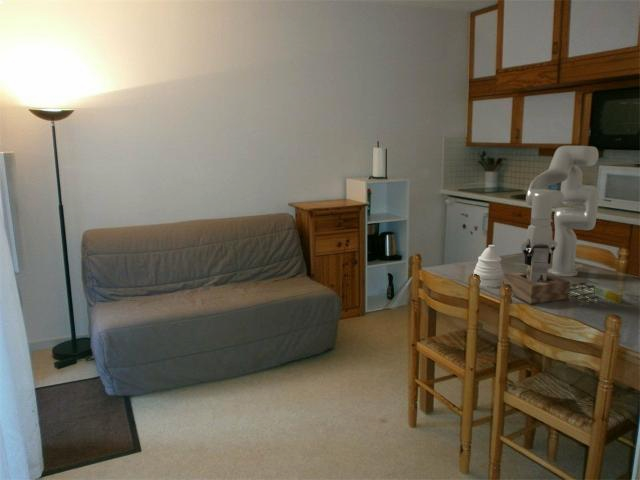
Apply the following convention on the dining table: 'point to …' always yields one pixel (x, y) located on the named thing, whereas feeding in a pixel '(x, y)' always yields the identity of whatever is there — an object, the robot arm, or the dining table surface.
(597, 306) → the dining table surface
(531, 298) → the well block
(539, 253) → the coffee box
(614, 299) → the medication box
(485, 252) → the honey pot
